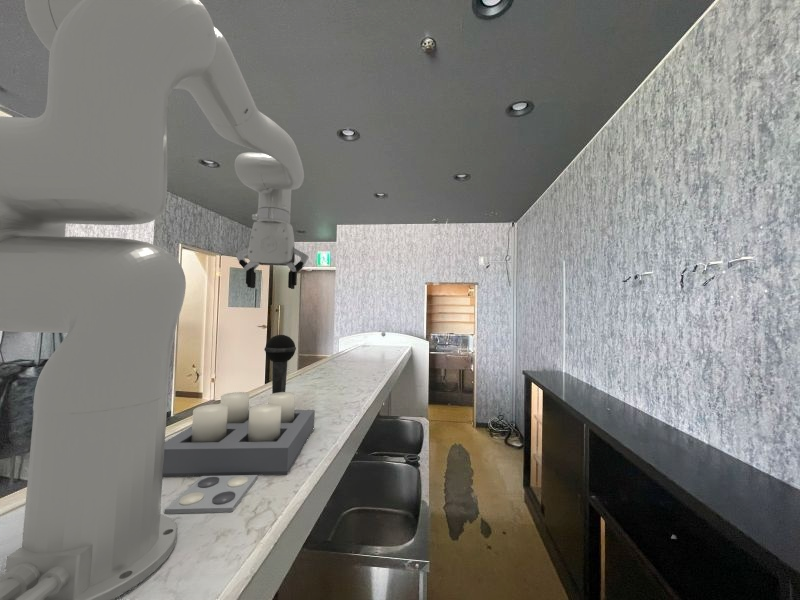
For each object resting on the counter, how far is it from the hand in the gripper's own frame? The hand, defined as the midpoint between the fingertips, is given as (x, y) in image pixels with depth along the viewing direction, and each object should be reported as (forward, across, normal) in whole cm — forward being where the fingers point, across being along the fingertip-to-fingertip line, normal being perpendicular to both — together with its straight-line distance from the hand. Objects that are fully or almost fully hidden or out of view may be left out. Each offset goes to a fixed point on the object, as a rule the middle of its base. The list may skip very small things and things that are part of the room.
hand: (271, 288), depth 76 cm
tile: (+31, +5, -33) cm, 46 cm away
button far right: (+28, +8, -13) cm, 32 cm away
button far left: (+28, -1, -14) cm, 31 cm away
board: (+31, +3, -18) cm, 36 cm away
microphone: (+31, +4, -4) cm, 32 cm away
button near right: (+28, +7, -22) cm, 36 cm away
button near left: (+28, -2, -23) cm, 36 cm away
